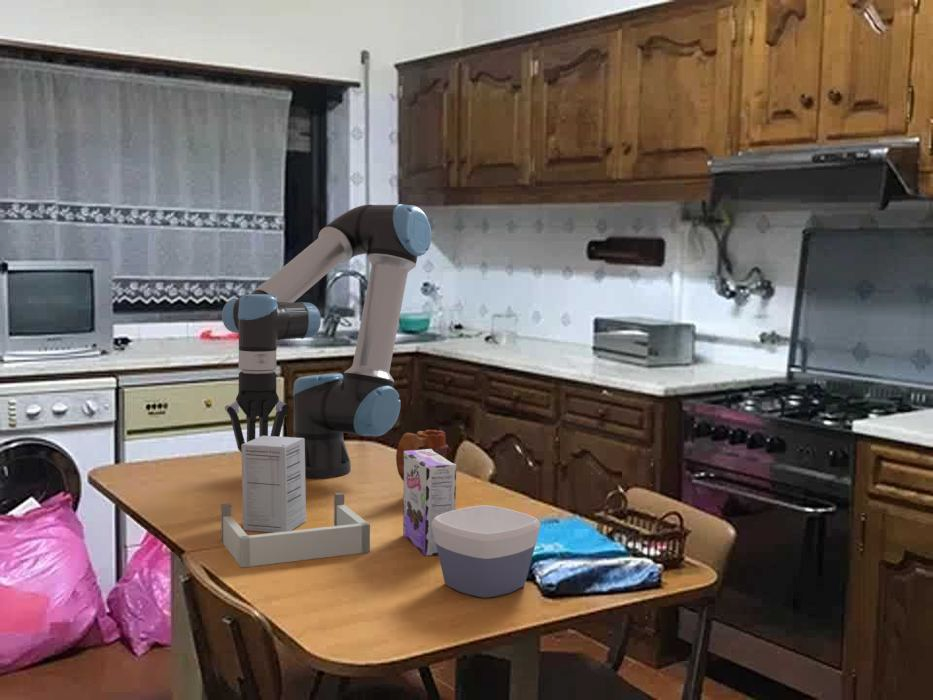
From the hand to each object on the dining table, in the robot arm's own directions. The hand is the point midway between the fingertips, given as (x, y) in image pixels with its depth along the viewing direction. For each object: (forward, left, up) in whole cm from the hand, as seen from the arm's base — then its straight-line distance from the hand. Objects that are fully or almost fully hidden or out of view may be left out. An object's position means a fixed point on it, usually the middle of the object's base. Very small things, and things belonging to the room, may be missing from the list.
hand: (257, 485), depth 213 cm
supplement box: (+13, 0, -5) cm, 14 cm away
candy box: (+35, +23, -5) cm, 42 cm away
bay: (+27, 0, -5) cm, 27 cm away
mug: (+5, +34, -5) cm, 35 cm away
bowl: (+59, +23, -5) cm, 64 cm away
